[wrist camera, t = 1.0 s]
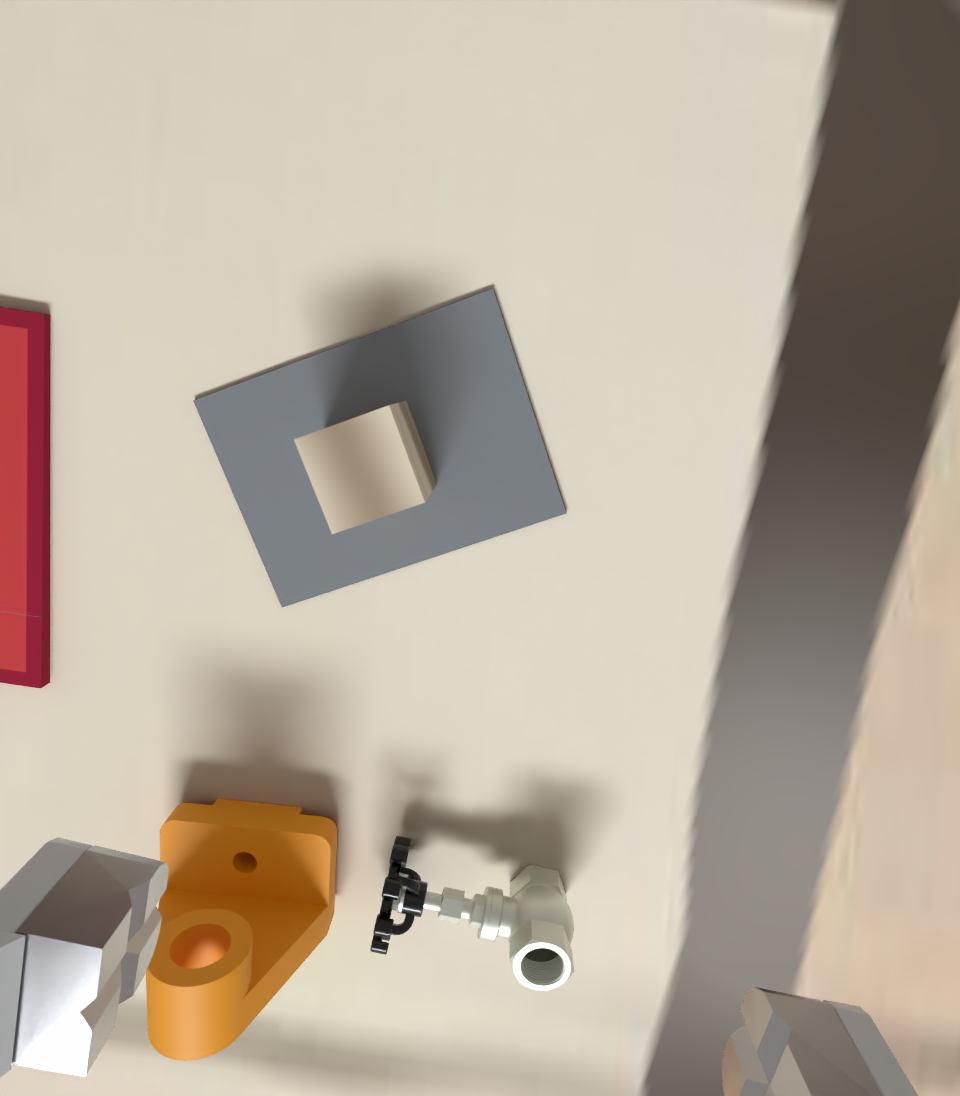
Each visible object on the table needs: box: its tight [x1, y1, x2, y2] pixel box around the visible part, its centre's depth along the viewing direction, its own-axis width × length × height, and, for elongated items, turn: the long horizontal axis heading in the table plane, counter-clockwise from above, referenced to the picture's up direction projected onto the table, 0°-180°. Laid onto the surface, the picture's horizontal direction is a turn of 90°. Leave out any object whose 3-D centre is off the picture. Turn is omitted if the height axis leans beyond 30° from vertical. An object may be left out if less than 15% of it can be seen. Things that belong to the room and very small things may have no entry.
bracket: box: [146, 798, 338, 1060], centre depth 42 cm, size 11×7×12 cm, turn 85°
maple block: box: [294, 401, 437, 534], centre depth 38 cm, size 5×5×6 cm
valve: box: [371, 836, 574, 991], centre depth 45 cm, size 7×7×12 cm
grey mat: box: [194, 289, 566, 607], centre depth 41 cm, size 18×13×1 cm
